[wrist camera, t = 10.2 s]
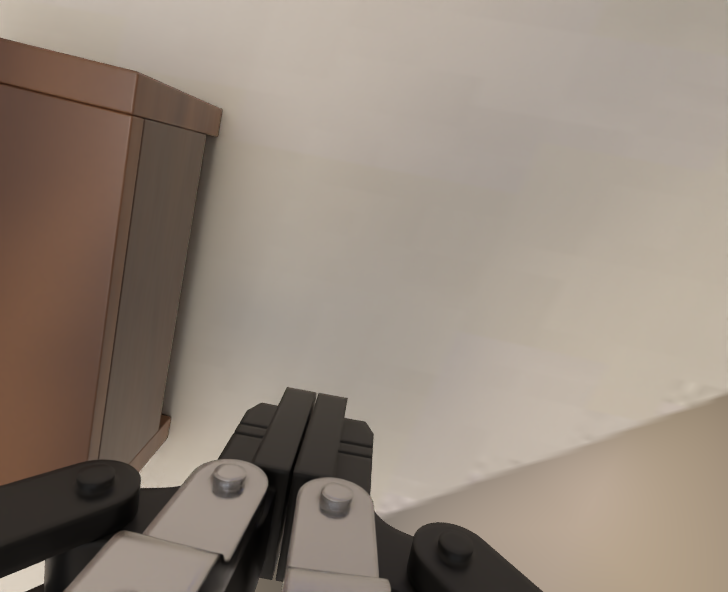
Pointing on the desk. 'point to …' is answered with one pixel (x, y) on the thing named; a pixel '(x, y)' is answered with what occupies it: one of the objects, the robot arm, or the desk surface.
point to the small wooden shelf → (90, 255)
